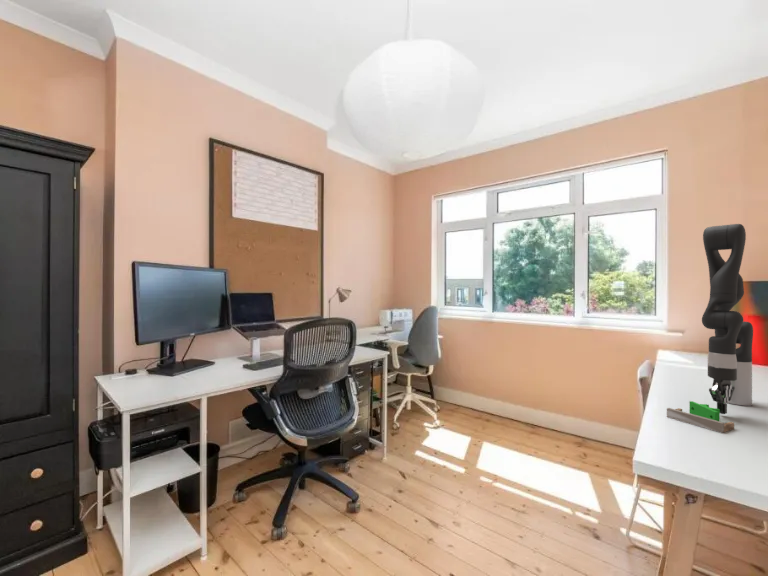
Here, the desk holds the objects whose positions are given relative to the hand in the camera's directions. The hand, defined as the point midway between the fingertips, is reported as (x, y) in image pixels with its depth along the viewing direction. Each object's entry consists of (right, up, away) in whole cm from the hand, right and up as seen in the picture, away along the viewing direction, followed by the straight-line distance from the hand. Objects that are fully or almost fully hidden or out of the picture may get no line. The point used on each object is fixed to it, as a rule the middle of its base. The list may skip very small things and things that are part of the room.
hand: (721, 413), depth 122 cm
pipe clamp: (-8, -1, -3) cm, 8 cm away
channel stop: (-14, -1, -6) cm, 15 cm away
